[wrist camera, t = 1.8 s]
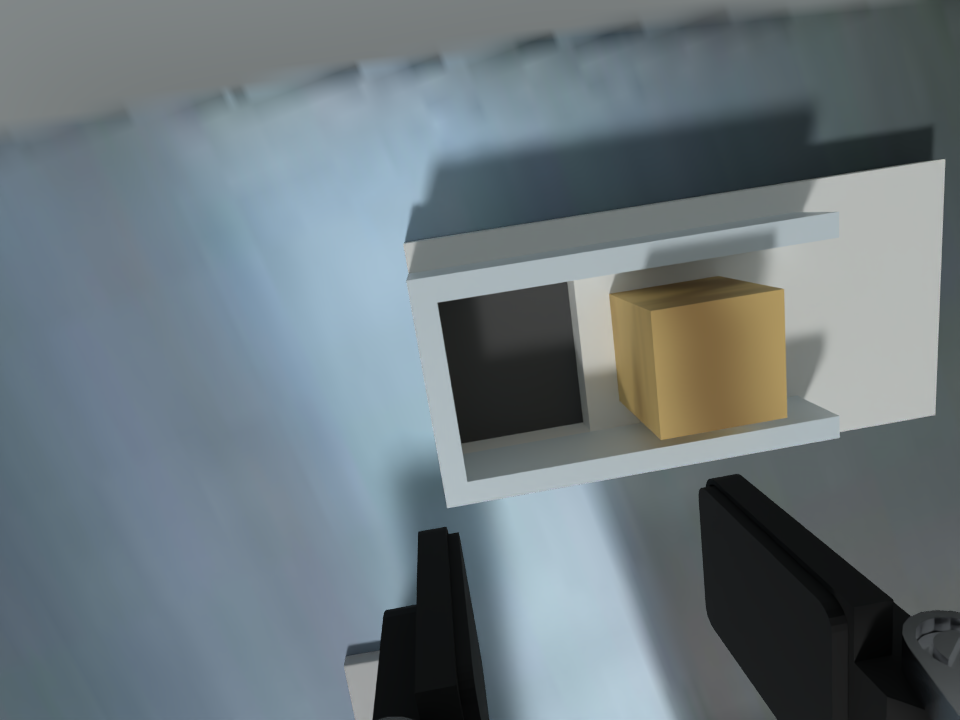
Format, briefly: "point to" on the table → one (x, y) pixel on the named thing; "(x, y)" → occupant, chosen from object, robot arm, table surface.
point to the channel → (659, 261)
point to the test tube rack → (362, 682)
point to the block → (701, 354)
